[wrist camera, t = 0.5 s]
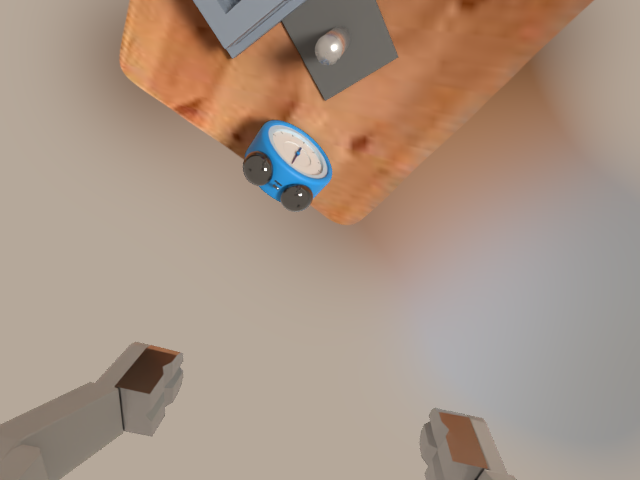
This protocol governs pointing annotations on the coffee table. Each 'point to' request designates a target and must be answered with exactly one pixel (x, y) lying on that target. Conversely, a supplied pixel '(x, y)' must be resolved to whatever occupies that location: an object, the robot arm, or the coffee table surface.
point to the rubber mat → (363, 51)
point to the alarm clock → (287, 165)
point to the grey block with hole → (244, 19)
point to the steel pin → (332, 45)
